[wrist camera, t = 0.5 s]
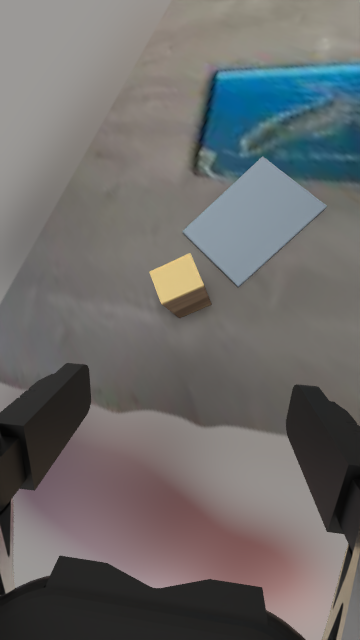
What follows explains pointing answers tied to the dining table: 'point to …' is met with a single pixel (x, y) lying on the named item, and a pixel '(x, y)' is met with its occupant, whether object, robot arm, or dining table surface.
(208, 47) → the dining table surface
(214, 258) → the slate mat
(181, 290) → the wooden block
